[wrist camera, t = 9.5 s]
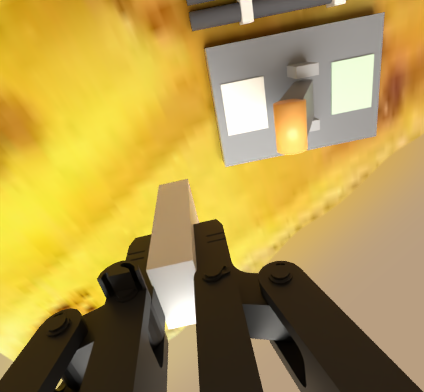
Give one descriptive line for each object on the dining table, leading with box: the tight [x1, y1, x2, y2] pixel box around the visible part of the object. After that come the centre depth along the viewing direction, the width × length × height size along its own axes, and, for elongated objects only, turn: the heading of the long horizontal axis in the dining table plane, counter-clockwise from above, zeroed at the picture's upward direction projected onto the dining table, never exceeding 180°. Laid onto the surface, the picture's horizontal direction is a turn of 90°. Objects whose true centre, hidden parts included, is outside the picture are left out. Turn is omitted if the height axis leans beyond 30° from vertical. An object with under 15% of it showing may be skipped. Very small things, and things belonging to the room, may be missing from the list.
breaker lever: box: [273, 79, 314, 155], centre depth 29 cm, size 3×4×13 cm, turn 10°
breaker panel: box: [204, 12, 384, 167], centre depth 35 cm, size 20×14×5 cm
